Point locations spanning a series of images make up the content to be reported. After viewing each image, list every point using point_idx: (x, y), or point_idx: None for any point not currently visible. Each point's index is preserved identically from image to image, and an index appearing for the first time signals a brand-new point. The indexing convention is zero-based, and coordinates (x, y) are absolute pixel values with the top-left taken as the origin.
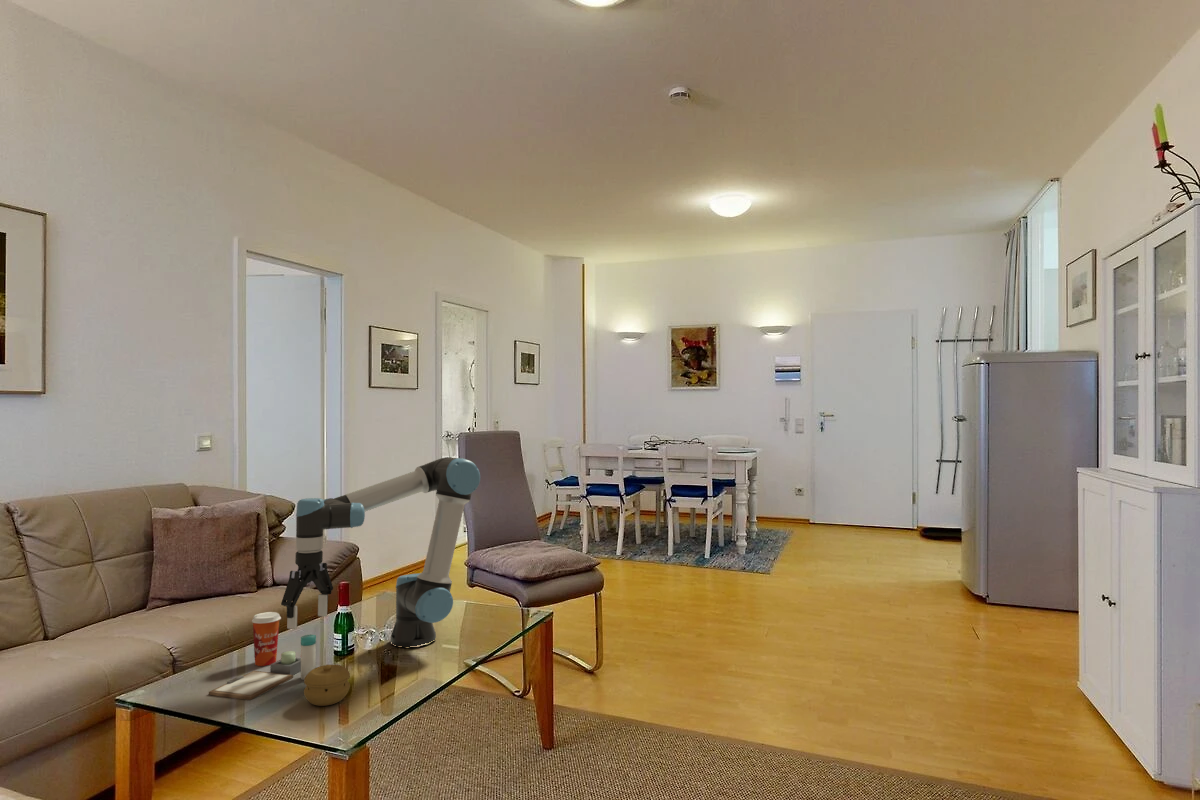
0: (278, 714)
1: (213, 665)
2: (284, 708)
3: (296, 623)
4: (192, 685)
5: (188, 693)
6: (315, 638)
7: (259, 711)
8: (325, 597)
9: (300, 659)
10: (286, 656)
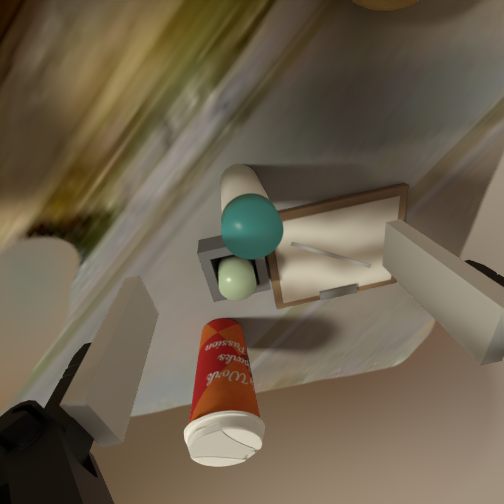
0: (484, 15)
1: (276, 380)
2: (442, 39)
3: (407, 234)
4: (360, 334)
5: (393, 310)
6: (237, 204)
7: (465, 95)
8: (94, 382)
9: (209, 259)
10: (253, 274)
